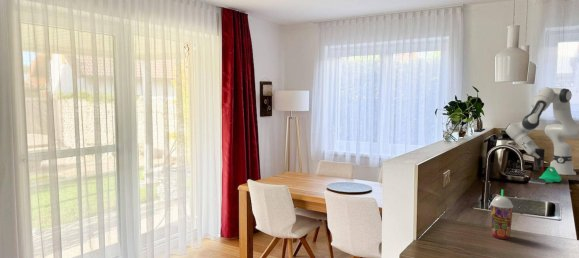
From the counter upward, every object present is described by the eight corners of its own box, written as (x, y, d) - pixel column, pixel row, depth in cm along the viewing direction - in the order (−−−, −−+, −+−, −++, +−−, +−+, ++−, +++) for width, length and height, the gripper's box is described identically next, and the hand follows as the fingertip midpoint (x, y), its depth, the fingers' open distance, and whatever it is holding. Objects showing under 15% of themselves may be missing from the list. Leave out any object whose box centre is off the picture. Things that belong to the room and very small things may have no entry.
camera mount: (538, 181, 276) (539, 166, 275) (541, 179, 282) (541, 165, 281) (558, 183, 268) (559, 168, 267) (561, 181, 273) (561, 167, 273)
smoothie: (490, 238, 159) (492, 191, 157) (488, 232, 167) (489, 186, 165) (513, 241, 156) (515, 192, 154) (510, 234, 164) (512, 188, 162)
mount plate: (532, 180, 277) (532, 177, 277) (547, 182, 270) (547, 179, 270) (528, 182, 270) (528, 179, 270) (544, 184, 264) (544, 181, 264)
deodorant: (539, 171, 266) (540, 149, 265) (531, 169, 271) (532, 148, 270) (545, 170, 268) (546, 149, 267) (537, 169, 274) (538, 148, 273)
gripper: (524, 140, 266) (540, 155, 260) (532, 138, 280) (547, 153, 274) (517, 146, 269) (532, 161, 263) (524, 144, 284) (539, 158, 278)
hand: (540, 157), depth 269 cm, fingers closed on deodorant, 6 cm apart
